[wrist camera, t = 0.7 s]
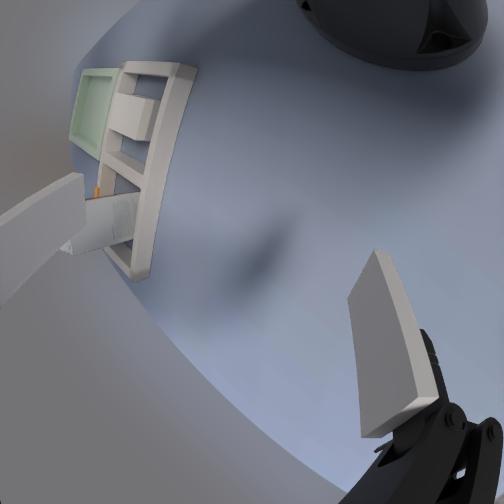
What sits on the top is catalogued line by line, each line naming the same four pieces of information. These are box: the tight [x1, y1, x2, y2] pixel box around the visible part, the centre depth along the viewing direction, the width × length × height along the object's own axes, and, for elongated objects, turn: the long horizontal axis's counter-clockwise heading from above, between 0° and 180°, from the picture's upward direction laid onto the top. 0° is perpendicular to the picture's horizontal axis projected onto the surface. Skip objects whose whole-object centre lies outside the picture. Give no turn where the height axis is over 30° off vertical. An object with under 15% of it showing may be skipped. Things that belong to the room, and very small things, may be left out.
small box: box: [59, 192, 140, 256], centre depth 30 cm, size 8×6×10 cm
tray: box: [68, 68, 120, 161], centre depth 32 cm, size 13×15×2 cm
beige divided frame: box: [94, 61, 198, 283], centre depth 30 cm, size 26×12×3 cm, turn 159°
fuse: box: [108, 93, 161, 141], centre depth 26 cm, size 5×7×4 cm, turn 69°
